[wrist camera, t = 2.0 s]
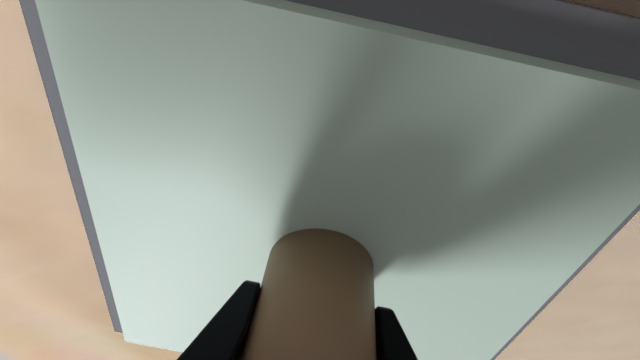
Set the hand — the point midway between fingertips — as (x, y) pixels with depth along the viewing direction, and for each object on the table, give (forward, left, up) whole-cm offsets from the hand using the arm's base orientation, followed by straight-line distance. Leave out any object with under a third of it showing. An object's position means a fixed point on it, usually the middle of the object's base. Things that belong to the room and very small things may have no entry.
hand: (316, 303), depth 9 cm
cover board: (0, 0, -2) cm, 2 cm away
